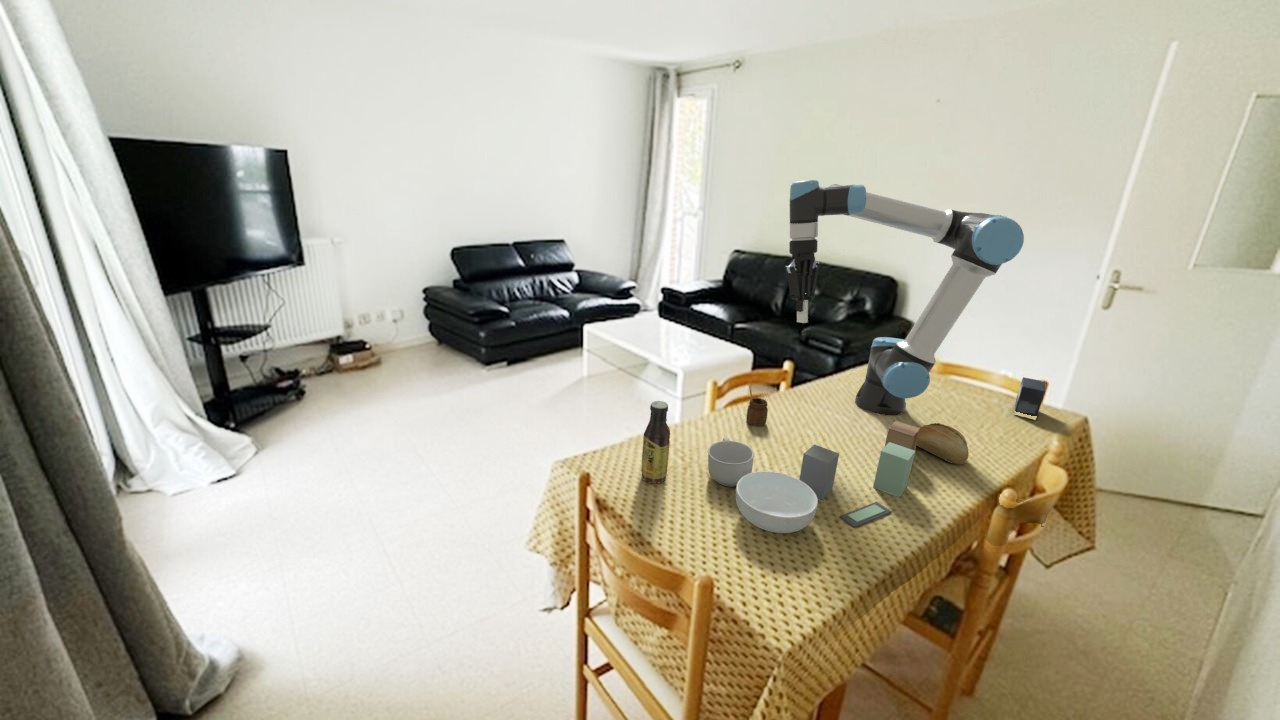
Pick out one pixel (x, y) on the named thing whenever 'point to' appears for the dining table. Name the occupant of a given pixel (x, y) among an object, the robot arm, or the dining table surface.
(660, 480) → the sauce bottle
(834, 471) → the charcoal block
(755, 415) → the utensil holder
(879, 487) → the sage block
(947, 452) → the bread roll
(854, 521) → the card
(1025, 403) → the small box
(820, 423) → the dining table surface
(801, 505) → the cereal bowl
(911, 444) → the walnut block
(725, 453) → the teacup
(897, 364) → the robot arm
